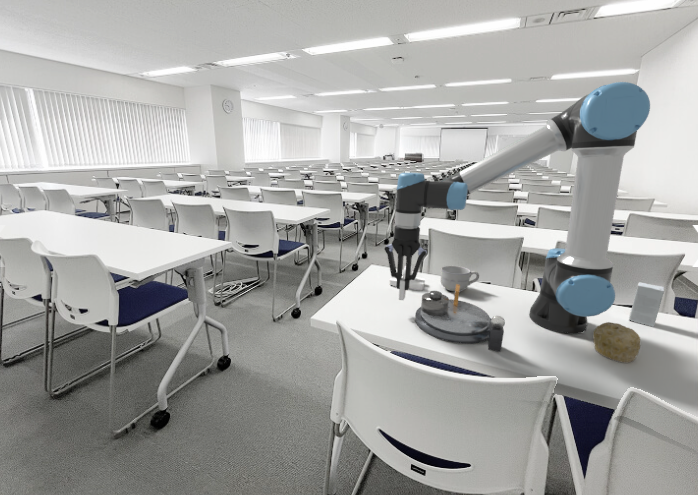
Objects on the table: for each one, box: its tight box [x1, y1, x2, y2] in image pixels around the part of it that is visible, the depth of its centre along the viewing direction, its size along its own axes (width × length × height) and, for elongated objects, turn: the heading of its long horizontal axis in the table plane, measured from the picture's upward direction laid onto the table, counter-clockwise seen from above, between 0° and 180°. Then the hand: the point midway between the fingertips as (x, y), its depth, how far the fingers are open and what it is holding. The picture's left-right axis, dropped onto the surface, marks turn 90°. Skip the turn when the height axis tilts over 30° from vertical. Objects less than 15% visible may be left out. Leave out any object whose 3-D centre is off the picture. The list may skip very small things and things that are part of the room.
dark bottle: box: [487, 315, 506, 353], centre depth 86 cm, size 3×3×9 cm
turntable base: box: [414, 306, 492, 345], centre depth 100 cm, size 23×23×1 cm
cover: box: [420, 290, 450, 316], centre depth 100 cm, size 8×8×6 cm
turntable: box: [420, 284, 491, 336], centre depth 99 cm, size 20×22×7 cm
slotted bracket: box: [388, 265, 426, 291], centre depth 128 cm, size 13×7×8 cm, turn 71°
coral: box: [592, 321, 641, 364], centre depth 85 cm, size 9×9×8 cm
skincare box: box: [628, 281, 665, 328], centre depth 101 cm, size 6×4×12 cm
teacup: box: [440, 265, 480, 292], centre depth 124 cm, size 14×11×8 cm
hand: (401, 298), depth 104 cm, fingers closed
